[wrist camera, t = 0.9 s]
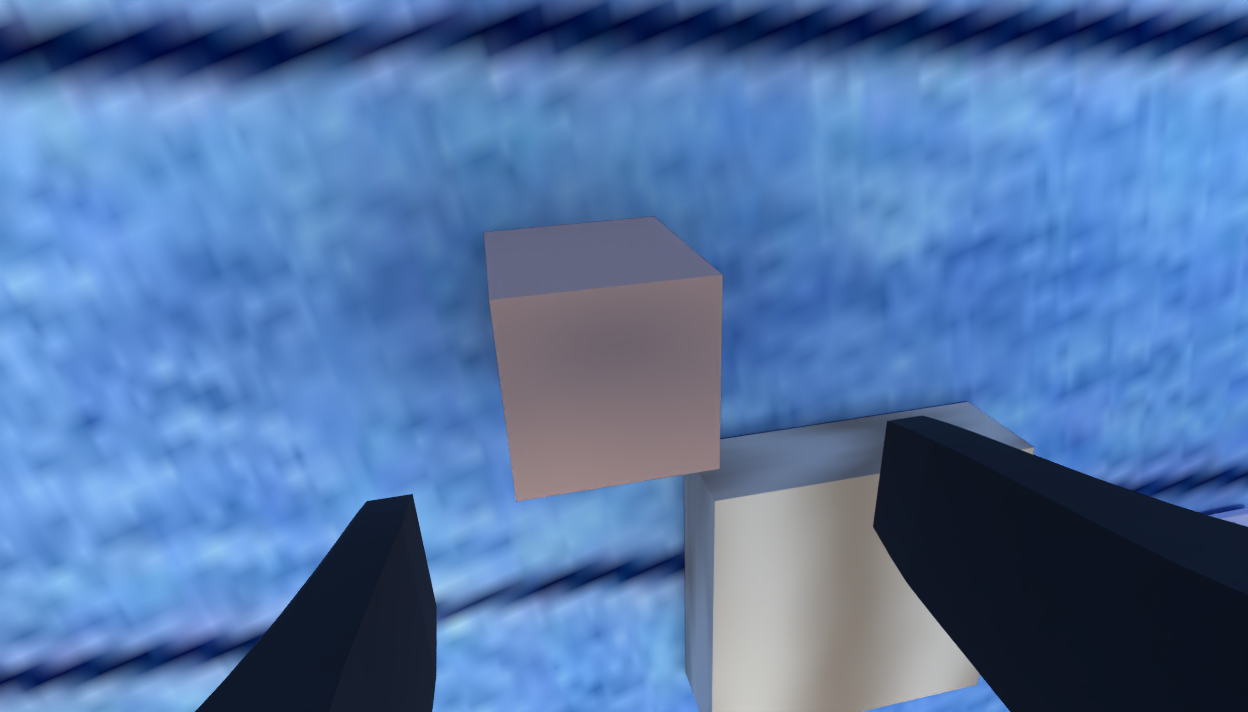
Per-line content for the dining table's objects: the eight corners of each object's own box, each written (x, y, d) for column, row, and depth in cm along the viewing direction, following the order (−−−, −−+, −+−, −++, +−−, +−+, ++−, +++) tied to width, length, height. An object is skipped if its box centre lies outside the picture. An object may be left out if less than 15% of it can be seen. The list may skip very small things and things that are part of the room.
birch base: (968, 401, 23) (1034, 447, 20) (926, 622, 27) (977, 684, 24) (683, 444, 21) (714, 501, 18) (685, 673, 25) (711, 746, 22)
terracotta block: (653, 215, 18) (722, 274, 13) (657, 367, 20) (719, 468, 15) (483, 231, 17) (489, 299, 12) (504, 387, 19) (516, 501, 14)
